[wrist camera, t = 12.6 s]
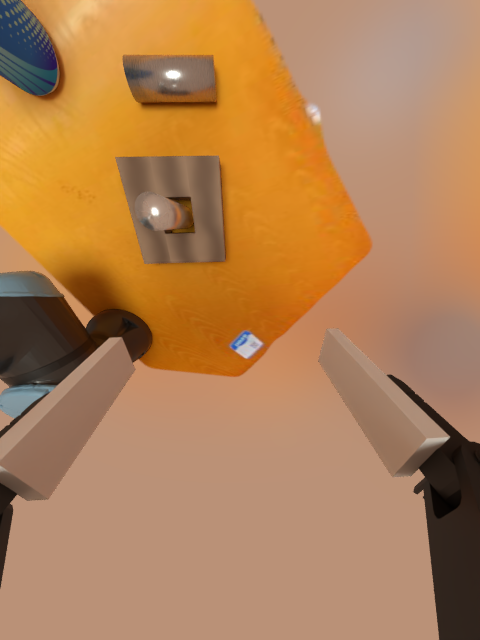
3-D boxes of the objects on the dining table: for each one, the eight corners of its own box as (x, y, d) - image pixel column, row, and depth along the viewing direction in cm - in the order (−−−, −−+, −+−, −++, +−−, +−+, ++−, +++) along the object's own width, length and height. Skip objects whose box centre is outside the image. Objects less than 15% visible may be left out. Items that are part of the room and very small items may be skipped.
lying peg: (123, 74, 23) (122, 44, 23) (139, 110, 27) (138, 85, 27) (213, 74, 23) (212, 44, 23) (216, 110, 27) (215, 84, 27)
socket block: (153, 259, 39) (144, 263, 35) (130, 166, 31) (115, 157, 27) (225, 257, 39) (225, 261, 35) (220, 164, 31) (218, 155, 27)
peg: (175, 228, 36) (140, 231, 22) (171, 205, 34) (129, 191, 20) (195, 228, 36) (172, 230, 22) (192, 204, 34) (165, 191, 20)
